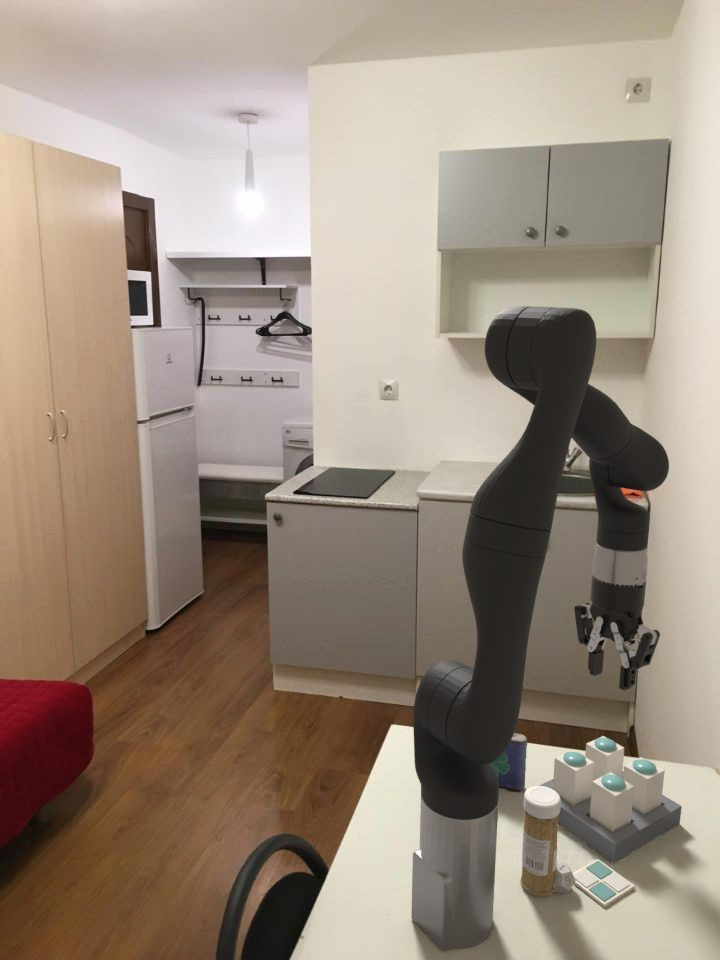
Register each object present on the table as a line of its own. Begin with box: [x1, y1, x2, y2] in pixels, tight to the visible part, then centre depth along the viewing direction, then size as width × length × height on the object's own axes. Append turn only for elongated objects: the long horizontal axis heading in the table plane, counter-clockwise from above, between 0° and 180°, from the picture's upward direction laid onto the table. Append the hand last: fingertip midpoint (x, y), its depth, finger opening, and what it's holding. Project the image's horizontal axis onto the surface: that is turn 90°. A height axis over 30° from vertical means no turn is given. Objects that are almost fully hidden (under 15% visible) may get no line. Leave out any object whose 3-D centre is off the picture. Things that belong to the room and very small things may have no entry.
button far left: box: [584, 735, 625, 781], centre depth 118 cm, size 4×4×6 cm
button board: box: [538, 770, 682, 864], centre depth 114 cm, size 15×15×3 cm
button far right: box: [623, 756, 665, 815], centre depth 112 cm, size 4×4×6 cm
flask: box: [490, 732, 528, 793], centre depth 121 cm, size 9×3×11 cm, turn 61°
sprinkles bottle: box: [520, 785, 561, 898], centre depth 98 cm, size 5×5×14 cm
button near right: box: [590, 772, 634, 833], centre depth 108 cm, size 4×4×6 cm
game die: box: [552, 861, 576, 895], centre depth 99 cm, size 4×4×3 cm
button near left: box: [552, 749, 594, 807], centre depth 114 cm, size 4×4×6 cm
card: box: [572, 858, 635, 908], centre depth 100 cm, size 6×6×1 cm
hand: (610, 680), depth 115 cm, fingers open, 5 cm apart
